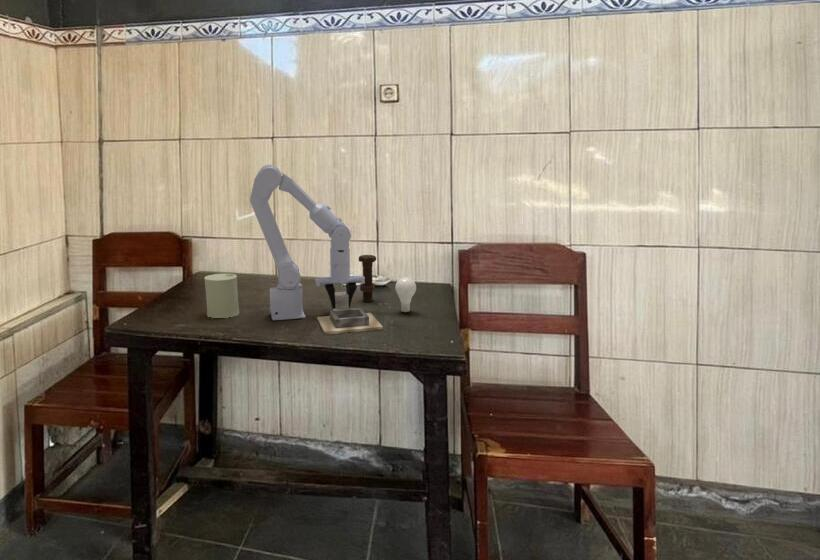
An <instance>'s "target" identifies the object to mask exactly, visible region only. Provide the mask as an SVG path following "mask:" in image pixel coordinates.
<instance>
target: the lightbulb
mask: <svg viewBox="0 0 820 560" xmlns="http://www.w3.org/2000/svg"><path fill="white" fill-rule="evenodd" d="M394 286H395V287H394V289H395V292H396V294H397V295H398V297H399V301H400V305H401V306H400V308H401V309H400V311H401V312H403V313H405V314H406V313H408V312H410V311H411V310H410V309H411V301H412V298H413V296H414V295H415V293H416V291H417V284H416V282H415V281H414V279H412V278H411V277H406V276H405V277H400V278H399V279H398V280H397V282H396V283H395V285H394Z"/></svg>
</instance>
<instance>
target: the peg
mask: <svg viewBox="0 0 820 560" xmlns="http://www.w3.org/2000/svg"><path fill="white" fill-rule="evenodd" d="M341 309H350V308H349V295H348V294H347V291H335V309H332V310H341Z"/></svg>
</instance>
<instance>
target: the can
mask: <svg viewBox="0 0 820 560" xmlns="http://www.w3.org/2000/svg"><path fill="white" fill-rule="evenodd" d="M204 285H205V286H204V287H205V298H206V299H205V300H206V316H207V318H209V317H212V318H211V319H213V318H225V319H230V318H229V317H231V318H233V317H234V316H235V317H237V316H239V315H240V307H239V293H238V276H237V274H235V273H234V274H233V273H214V274H209V275H205V276H204Z"/></svg>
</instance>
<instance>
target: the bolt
mask: <svg viewBox="0 0 820 560" xmlns="http://www.w3.org/2000/svg"><path fill="white" fill-rule="evenodd" d="M376 261H377V256H375V255H372V254H362V255H359V257H358V262H361V266H362V276H364V277H365V283H364V284H360V286H359V291H361V292H362V301H363V302H367V303H368V302H369V303H370V302H373V292H374V291H375V289H376V285H375V284H374V283H373V264H374V262H376Z"/></svg>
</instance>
